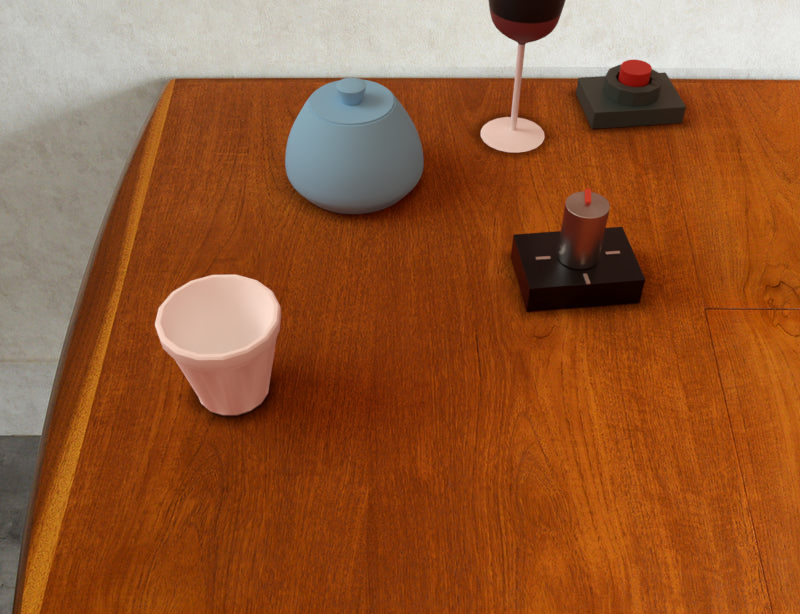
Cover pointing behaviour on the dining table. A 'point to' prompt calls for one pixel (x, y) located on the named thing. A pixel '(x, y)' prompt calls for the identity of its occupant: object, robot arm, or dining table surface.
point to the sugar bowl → (353, 148)
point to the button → (635, 73)
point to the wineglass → (520, 67)
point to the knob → (582, 229)
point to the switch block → (629, 101)
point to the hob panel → (575, 273)
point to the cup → (222, 339)
